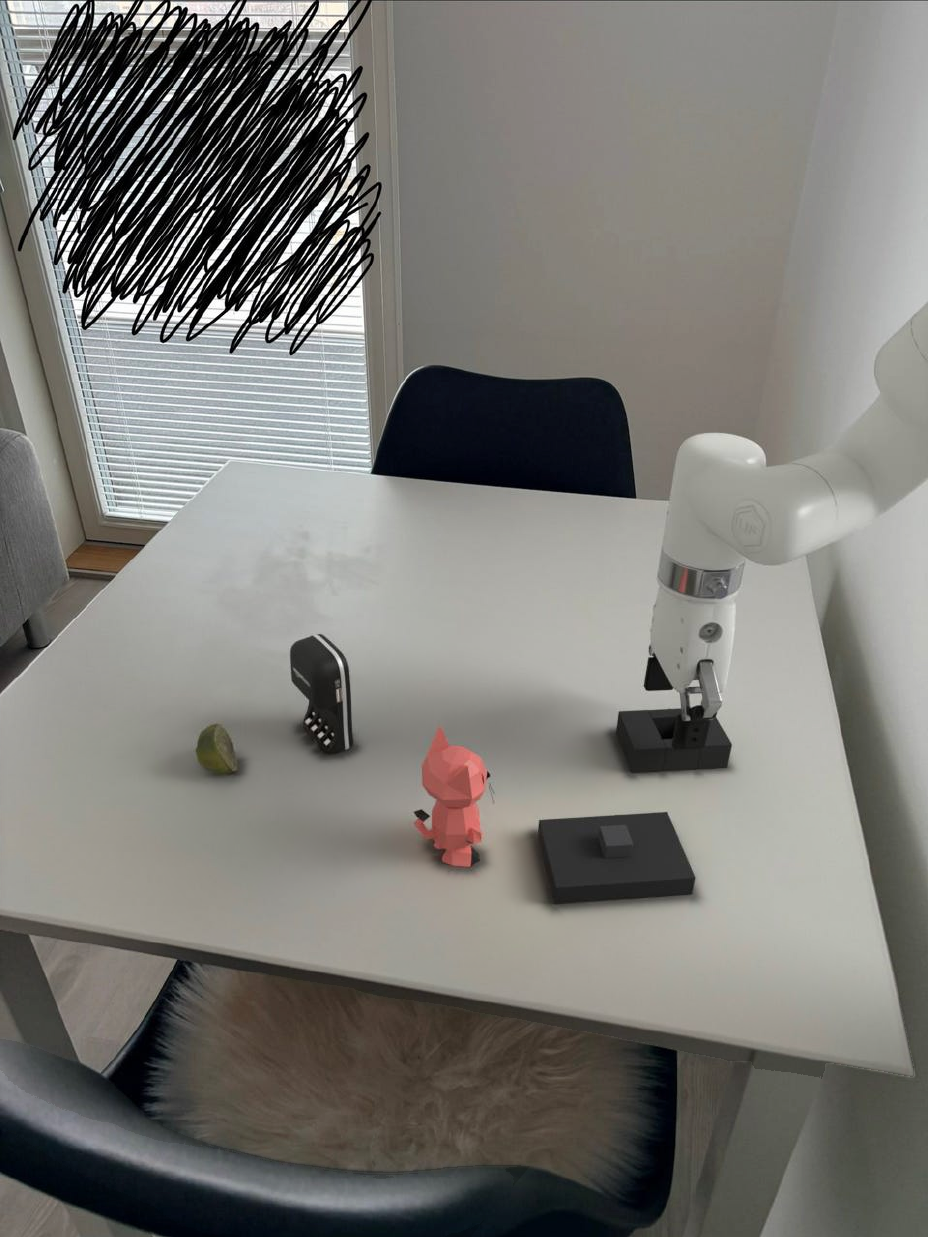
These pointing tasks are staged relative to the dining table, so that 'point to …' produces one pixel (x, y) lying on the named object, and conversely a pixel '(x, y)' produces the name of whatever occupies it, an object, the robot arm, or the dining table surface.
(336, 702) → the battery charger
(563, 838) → the base pad
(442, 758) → the cat figurine
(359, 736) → the dining table surface
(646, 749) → the black socket block
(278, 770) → the dining table surface
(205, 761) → the lime
